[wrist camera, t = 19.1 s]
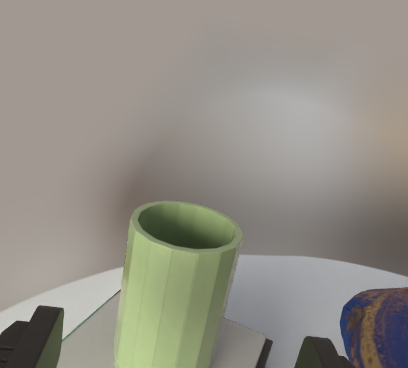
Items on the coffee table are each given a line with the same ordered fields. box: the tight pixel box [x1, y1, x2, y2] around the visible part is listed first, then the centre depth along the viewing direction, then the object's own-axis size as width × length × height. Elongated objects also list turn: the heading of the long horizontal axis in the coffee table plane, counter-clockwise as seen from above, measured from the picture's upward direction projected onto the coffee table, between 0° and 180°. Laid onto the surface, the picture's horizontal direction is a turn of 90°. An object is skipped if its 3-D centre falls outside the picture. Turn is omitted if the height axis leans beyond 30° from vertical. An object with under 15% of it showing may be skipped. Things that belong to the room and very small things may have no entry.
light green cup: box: [113, 201, 243, 368], centre depth 22 cm, size 6×6×9 cm
